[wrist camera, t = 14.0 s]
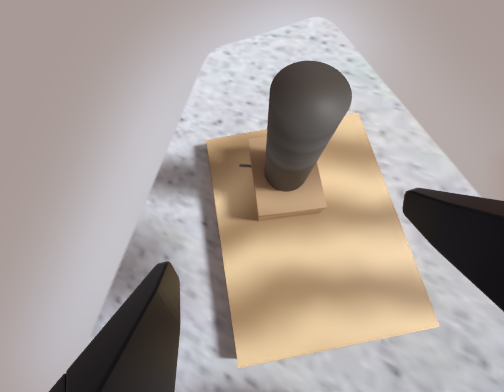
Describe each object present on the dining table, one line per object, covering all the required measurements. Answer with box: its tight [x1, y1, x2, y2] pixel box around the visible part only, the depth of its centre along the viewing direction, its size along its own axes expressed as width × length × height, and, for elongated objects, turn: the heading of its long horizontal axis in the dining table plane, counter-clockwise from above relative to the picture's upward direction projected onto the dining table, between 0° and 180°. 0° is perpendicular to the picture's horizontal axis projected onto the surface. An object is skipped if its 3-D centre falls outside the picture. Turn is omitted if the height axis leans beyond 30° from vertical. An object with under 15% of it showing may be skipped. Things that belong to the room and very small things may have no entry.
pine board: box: [206, 113, 440, 368], centre depth 20 cm, size 20×16×2 cm
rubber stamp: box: [248, 61, 352, 221], centre depth 15 cm, size 7×6×12 cm
